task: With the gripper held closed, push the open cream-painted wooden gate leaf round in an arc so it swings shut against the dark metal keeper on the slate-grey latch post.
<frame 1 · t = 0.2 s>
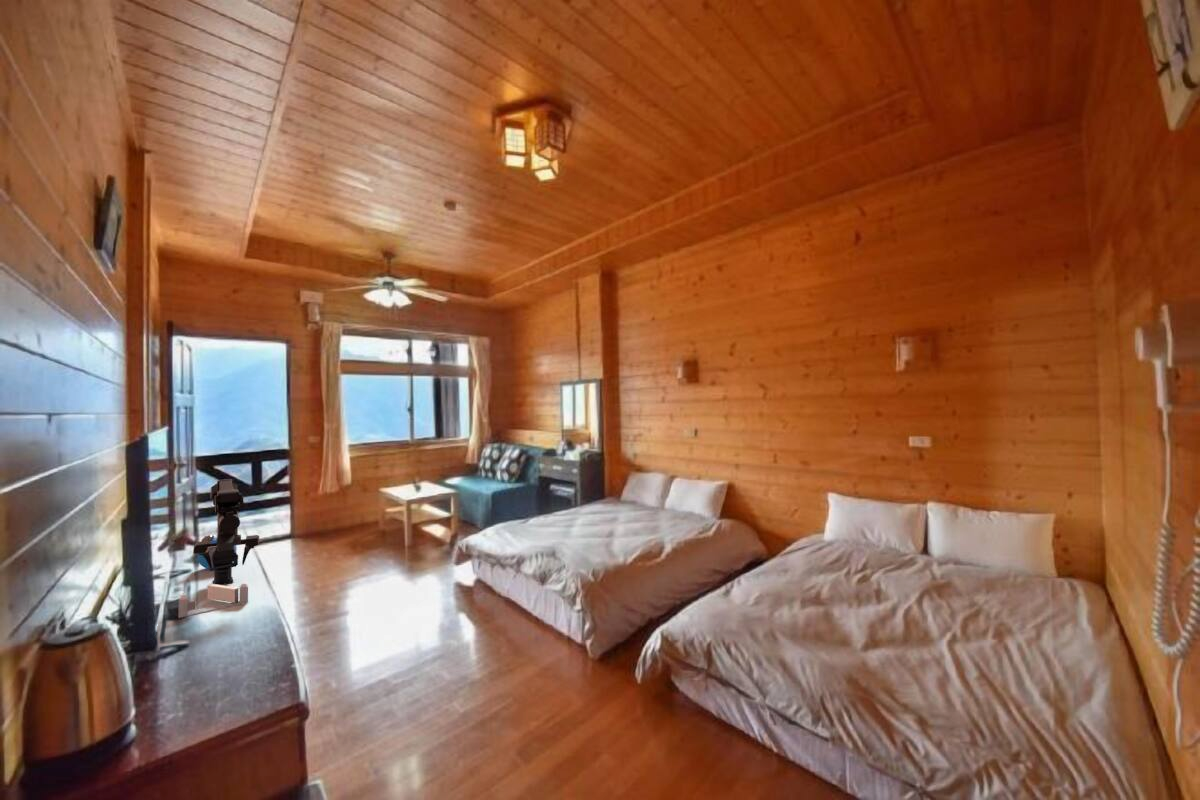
hand: (227, 566, 173), 14 cm above the table, fingers open, 9 cm apart
gate: (223, 593, 176), point 3 cm above the table, hinge at 55.0°
alarm clock: (217, 568, 209), on the table
gate frame: (226, 606, 172), on the table
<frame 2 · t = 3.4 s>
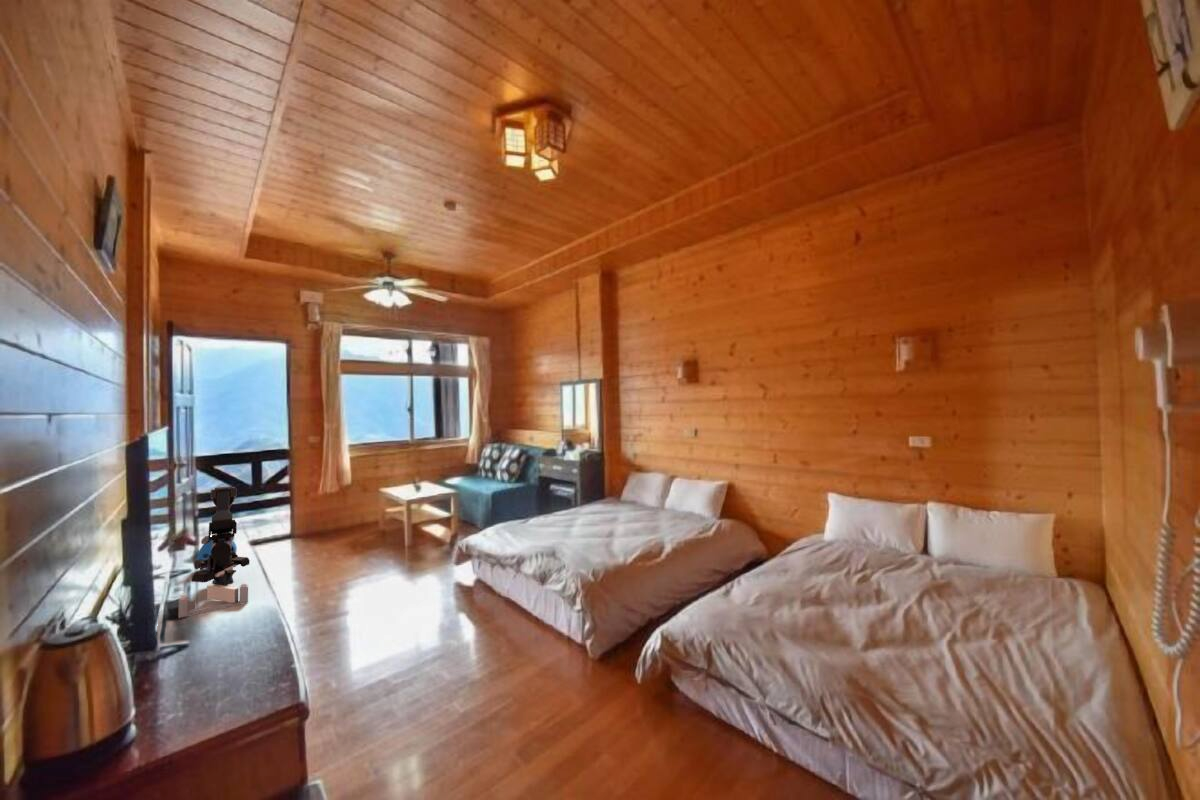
hand: (222, 591, 179), 3 cm above the table, fingers closed
gate: (223, 593, 176), point 3 cm above the table, hinge at 54.4°, touching gripper
everything else where it was.
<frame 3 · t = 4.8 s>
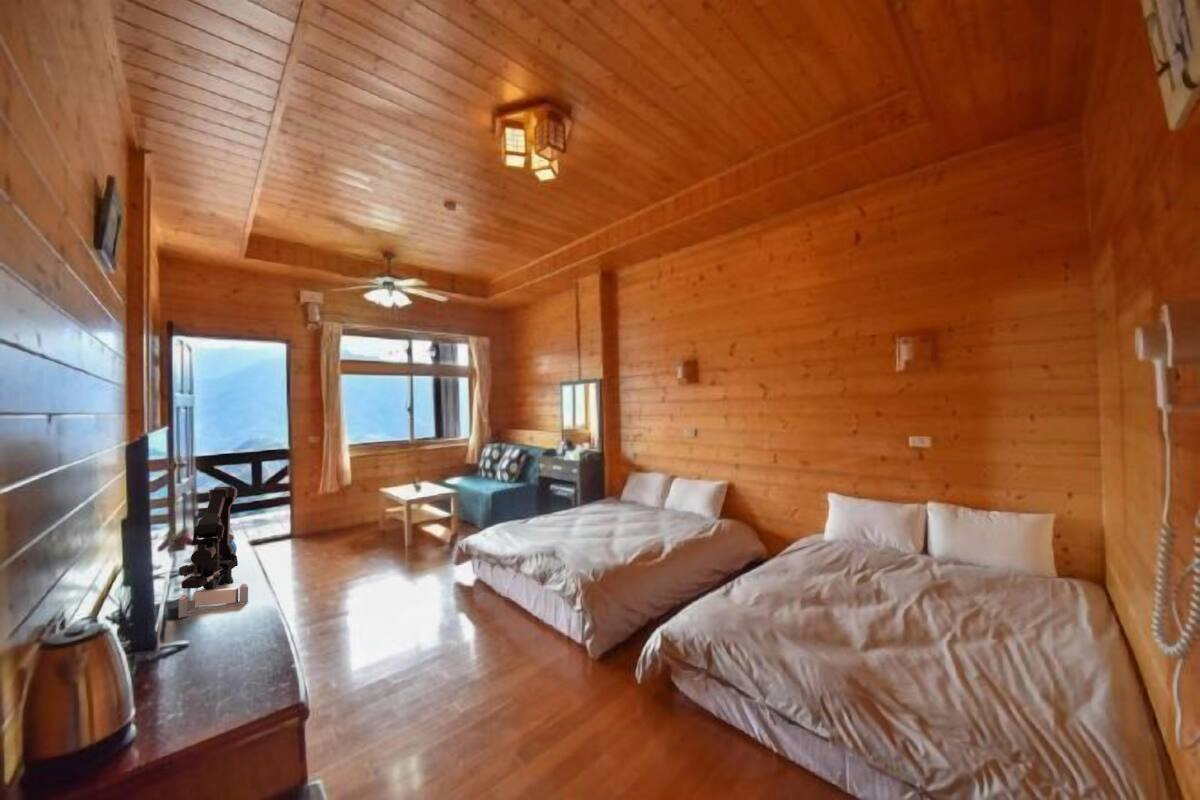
hand: (209, 596, 174), 3 cm above the table, fingers closed
gate: (216, 597, 173), point 3 cm above the table, hinge at 26.2°, touching gripper
everything else where it was.
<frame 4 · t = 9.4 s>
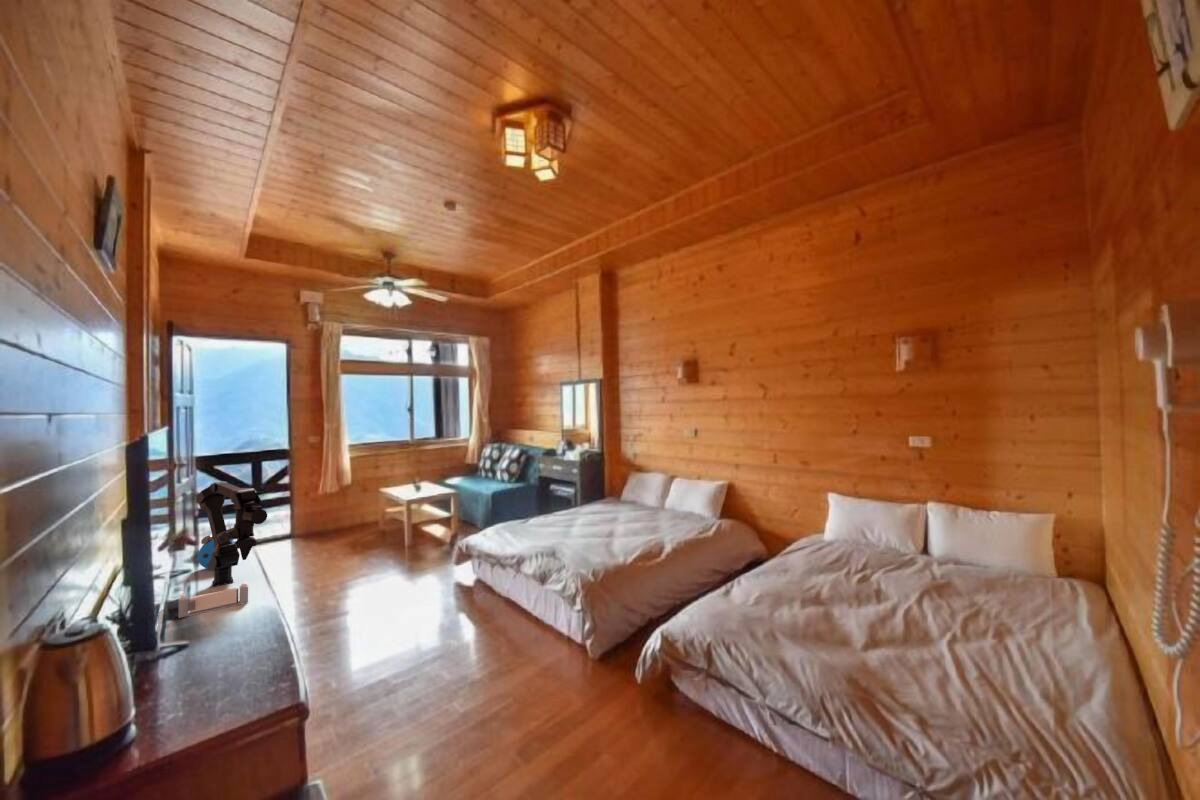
hand: (244, 559, 187), 12 cm above the table, fingers closed
gate: (214, 600, 170), point 3 cm above the table, hinge at -0.4°
everything else where it was.
at the end: gate at +0° (first picture: +55°) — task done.
